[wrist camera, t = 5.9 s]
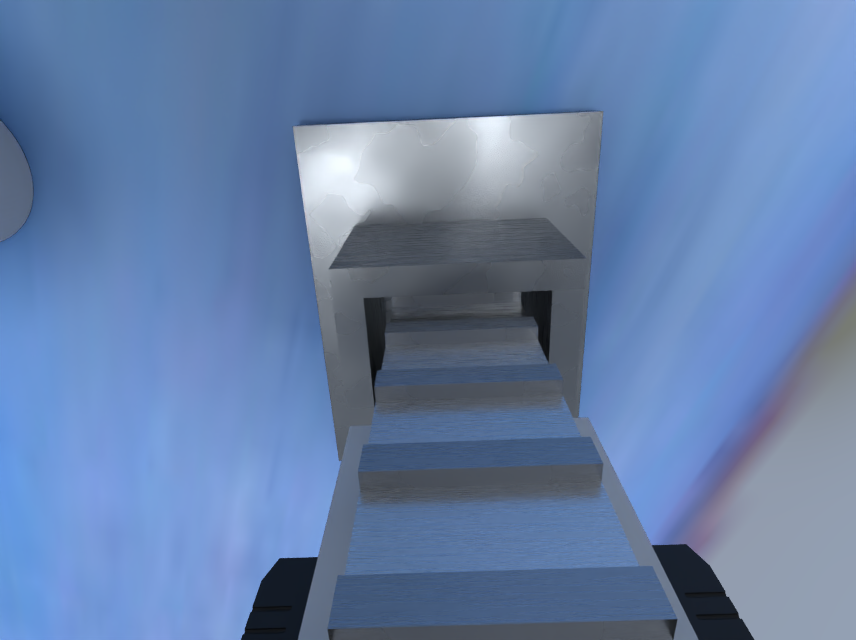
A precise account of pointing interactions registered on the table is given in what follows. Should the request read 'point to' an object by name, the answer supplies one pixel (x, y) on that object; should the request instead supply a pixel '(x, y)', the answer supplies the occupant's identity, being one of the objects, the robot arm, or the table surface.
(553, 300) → the stand
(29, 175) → the coffee cup
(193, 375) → the table surface
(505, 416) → the column
